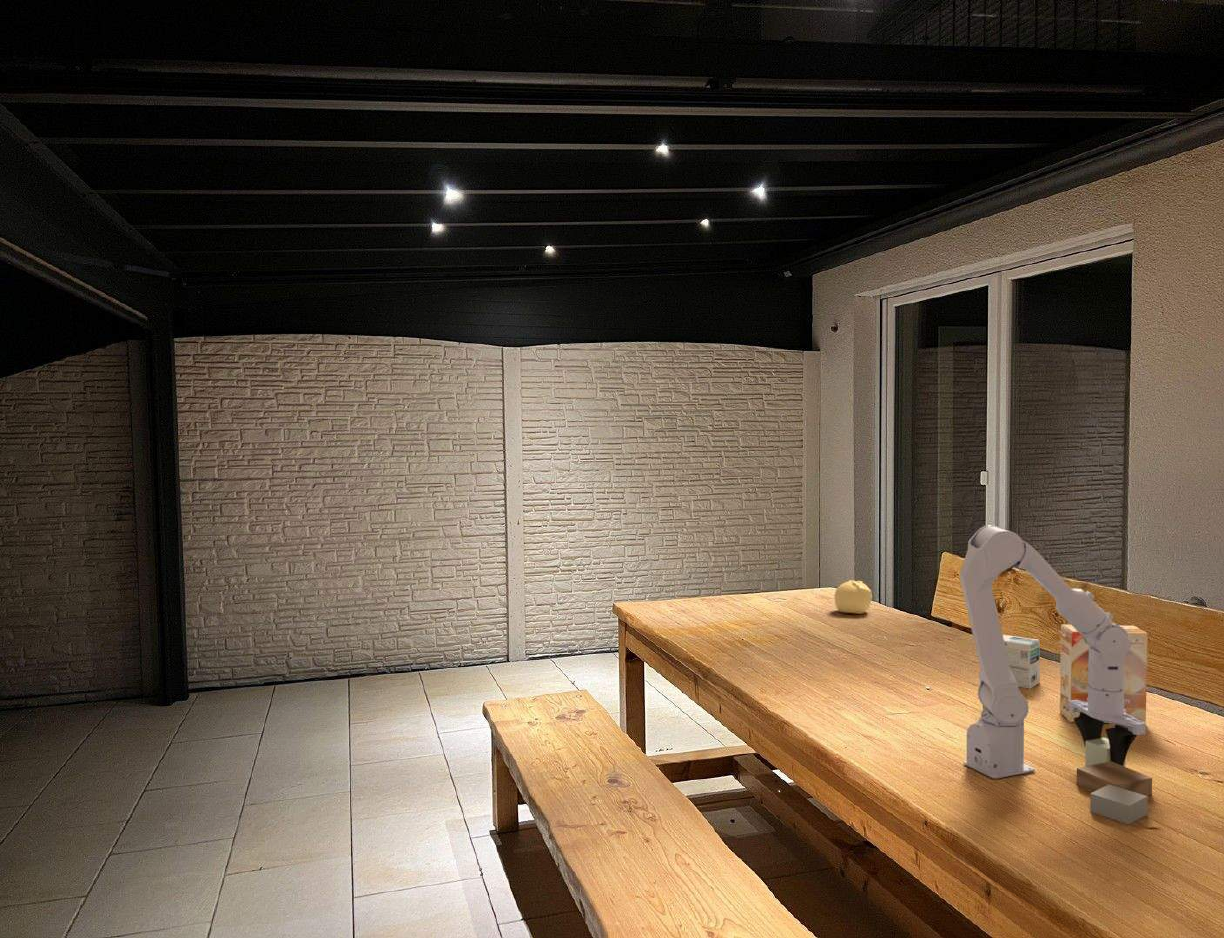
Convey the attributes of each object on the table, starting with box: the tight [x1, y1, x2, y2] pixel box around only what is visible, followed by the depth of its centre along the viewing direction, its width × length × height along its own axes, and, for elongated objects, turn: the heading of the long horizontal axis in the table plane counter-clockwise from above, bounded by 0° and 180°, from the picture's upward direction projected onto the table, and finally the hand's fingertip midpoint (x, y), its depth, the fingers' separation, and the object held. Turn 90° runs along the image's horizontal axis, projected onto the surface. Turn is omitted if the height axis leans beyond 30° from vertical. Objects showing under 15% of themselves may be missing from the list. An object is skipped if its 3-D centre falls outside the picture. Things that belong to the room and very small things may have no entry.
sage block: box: [1084, 737, 1126, 767], centre depth 163 cm, size 4×4×5 cm
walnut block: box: [1076, 761, 1153, 797], centre depth 155 cm, size 8×8×3 cm
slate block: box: [1089, 785, 1148, 826], centre depth 146 cm, size 6×6×3 cm
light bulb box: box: [1003, 634, 1041, 689], centre depth 218 cm, size 11×7×11 cm, turn 47°
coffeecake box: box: [1059, 624, 1148, 724], centre depth 191 cm, size 15×7×20 cm, turn 82°
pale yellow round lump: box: [834, 579, 873, 615], centre depth 299 cm, size 11×12×11 cm
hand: (1105, 761), depth 164 cm, fingers closed on sage block, 4 cm apart
